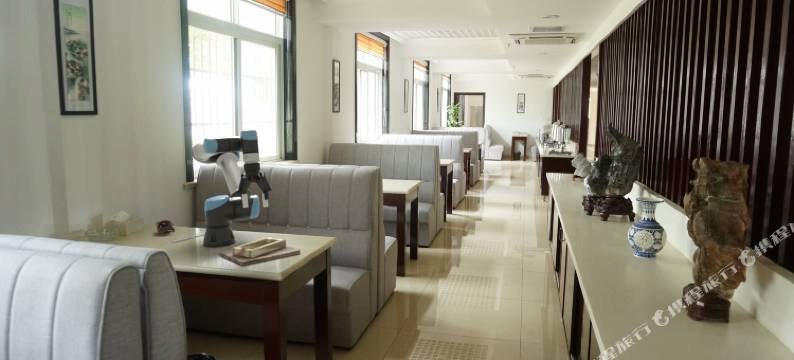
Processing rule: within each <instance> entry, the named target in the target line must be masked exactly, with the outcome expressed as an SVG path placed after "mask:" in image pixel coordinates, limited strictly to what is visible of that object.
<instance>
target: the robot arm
mask: <svg viewBox="0 0 794 360" xmlns="http://www.w3.org/2000/svg"><path fill="white" fill-rule="evenodd" d="M258 138H259V137H258V132H257V130H255V129H245V130H243V129H242V130H241V131H240V135H236V136H218V137H217V136H215V137H211V136H210V137H205V138H203V139H204V140H203V142H199V143H196V144H195V145H194V146H193V147H192V150H191V156H192V158H193V159H194V160H195V161H196V162H199V163H201V164H206V165H207V164H208V165H209V164H216V166H217V167H218V168H219V169H221V172H222V174H223V177H224V179H225V182H226V183H225V184H226V185H227V187H228V191H229V193H230V196H229V195H227V194H223V195H222V194H221V195H216V196H212V197H209V198H207V199H205V200H204V208H203V210H204V218H205V231H204V234H205V235H204V234H203V235H204V236H203V239H202V245H203V246H204V247H206V248H207V247H208V248H219V247H227V246H231V245H234V244H235V243H236V237H235V234H234V232H233V229H232V227H231V225H232V224H231V222H235V221H242V220H243V221H244V220H251V219H256V218H257V217H258V216H259V215H260V209H261V208H260V207H261V205H260V204H261V203H260V198H259V195H257V194H253V192H252V190H249V187H250V185H251V184H252V183H255V184H256V185H257V186H258V187H259V189H260V190H261V191H262V193H261V196H262V197H261V199H262V207H263V208H268V207H269V193H270V192H271V191H272V188H271V186H270V184H269V181H268V179H267V177H266V173H265V171H261V163H260V150H259V140H258ZM241 153H242V161H243V163H244V164H243V171H244V173H242V172H241V169H240V168H239V165H238V163H239V160H240V156H241V155H240V154H241Z"/></svg>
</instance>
